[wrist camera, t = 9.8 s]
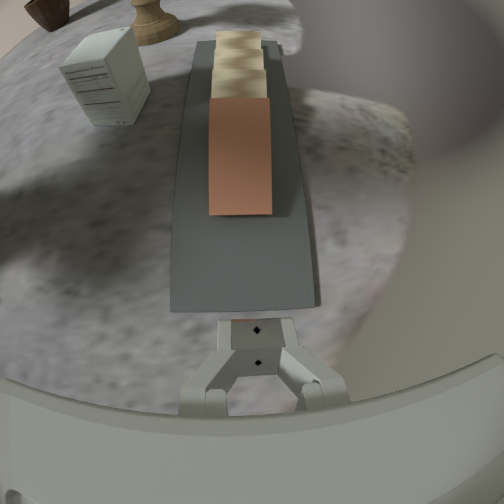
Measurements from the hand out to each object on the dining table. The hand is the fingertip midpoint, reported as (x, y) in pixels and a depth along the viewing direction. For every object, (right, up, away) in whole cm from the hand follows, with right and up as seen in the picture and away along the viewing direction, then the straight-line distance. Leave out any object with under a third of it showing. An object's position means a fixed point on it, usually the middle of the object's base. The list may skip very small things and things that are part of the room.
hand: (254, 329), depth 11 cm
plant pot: (-61, +74, +32) cm, 101 cm away
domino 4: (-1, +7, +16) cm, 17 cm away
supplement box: (-19, +24, +21) cm, 37 cm away
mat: (-2, +19, +21) cm, 28 cm away
